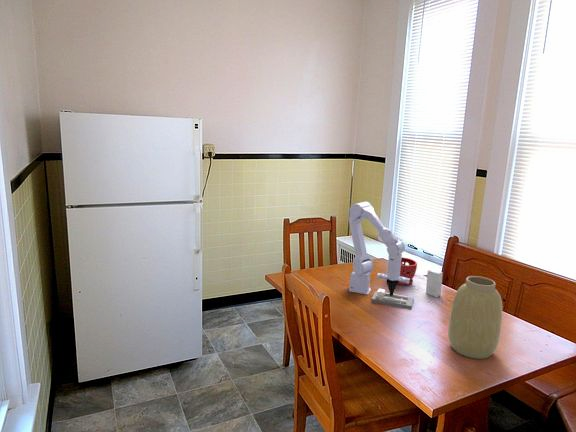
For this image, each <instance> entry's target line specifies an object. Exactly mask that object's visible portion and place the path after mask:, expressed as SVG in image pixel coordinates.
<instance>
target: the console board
mask: <svg viewBox="0 0 576 432" xmlns="http://www.w3.org/2000/svg"><path fill="white" fill-rule="evenodd" d="M377 292H378V290H377V291H374V293H373V295H372V297H371V300H370V301H371V303H378V304H381V305H387V306H393V307H396V308H397V307H398V308H403V309H408V310H412V309H413V308H412V307H413V305H414V304H413V303H414V297H409V296H406V295H402V294H401V295H400V294H395V293H393V296H390V292H386V291H385V295H384V297H383V296H377Z"/></svg>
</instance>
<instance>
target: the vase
mask: <svg viewBox="0 0 576 432" xmlns="http://www.w3.org/2000/svg"><path fill="white" fill-rule="evenodd" d="M496 285H497V283H496V282H495V281H494V280H493V279H490V278H488V277H484V276H480V275H479V276H476V275H469V276H467V277H466V279H465V283H463V284H462V285H461V286H459V287H458V289H457V290H456V292H455V294H454V298H453V301H452V304H451V308H450V309H451V310H450V314H449V321H448V331H447V336H448V340H449V343H450V346H451V348H452V349H453V350H454V351H456V353H458V354H460V355H462V356H465V357H467V358H472V359H479V360H481V359H482V360H483V359H487V358H490V357H491V356H492V355H493V354H494V353H495V351H496V350H497V348H498V346H499V342H500V338H501V337H500V336H501V333H502V332H501V330H502V322H503V299H502V297H501V294H500V293H499V292H498V290H497V289H496Z"/></svg>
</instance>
